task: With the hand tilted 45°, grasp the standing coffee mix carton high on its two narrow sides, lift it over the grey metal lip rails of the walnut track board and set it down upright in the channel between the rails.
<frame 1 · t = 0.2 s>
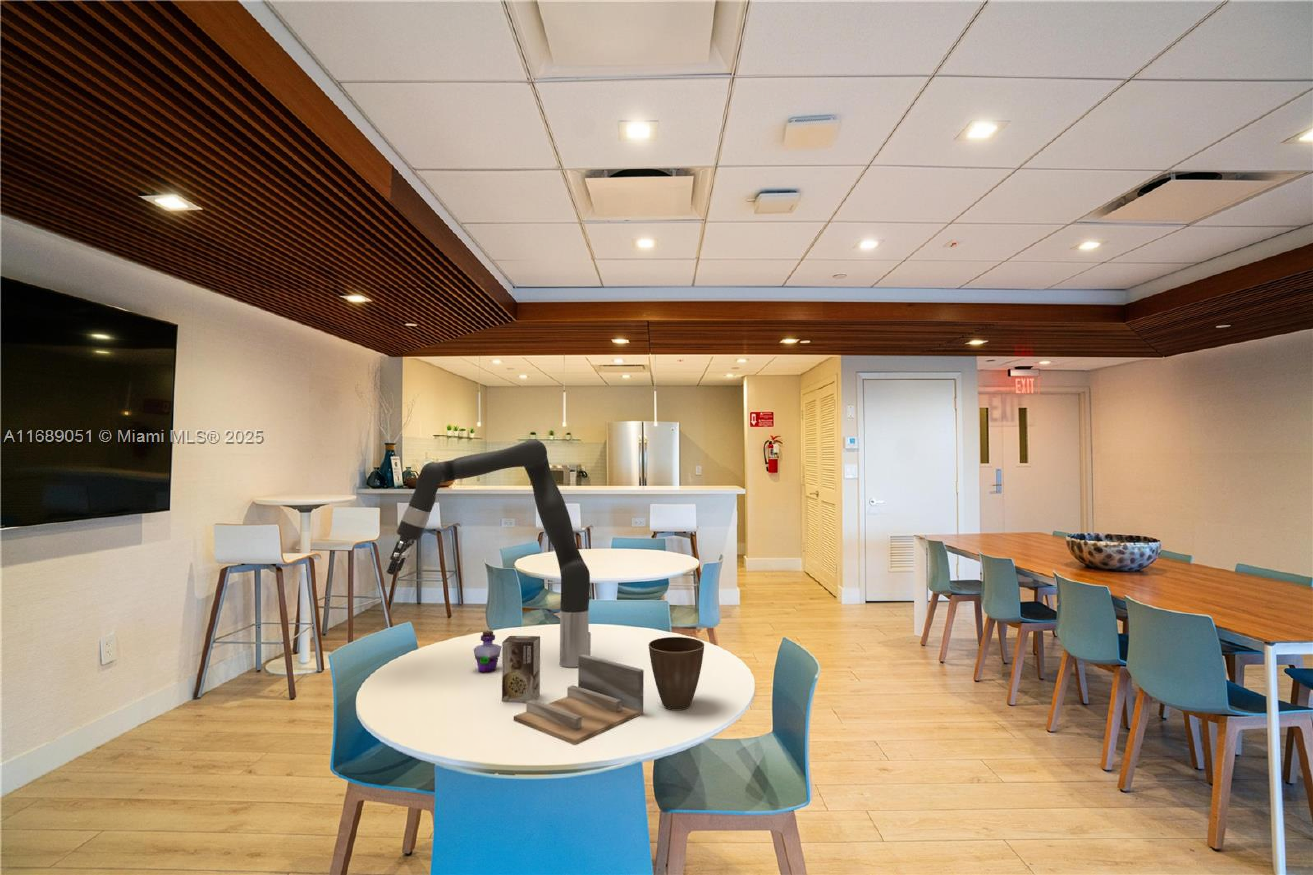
hand: (393, 572, 191), 31 cm above the table, tool tilted 20°, fingers open, 8 cm apart
plant pot: (676, 706, 163), on the table
potion bottle: (487, 670, 193), on the table
coffee box: (520, 699, 168), on the table
track board: (579, 716, 155), on the table
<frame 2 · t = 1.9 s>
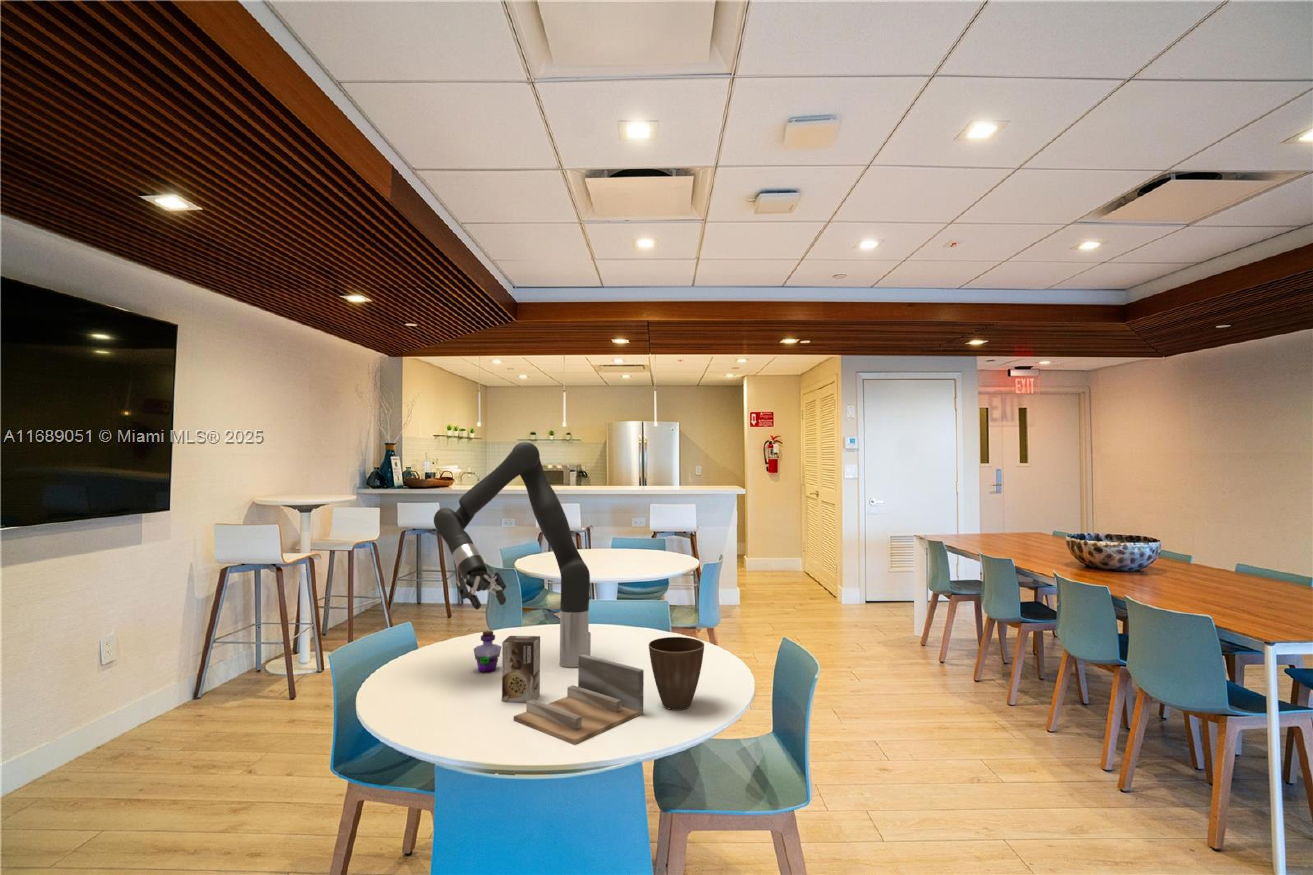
hand: (491, 605, 179), 23 cm above the table, tool tilted 45°, fingers open, 8 cm apart
nothing on the table moved.
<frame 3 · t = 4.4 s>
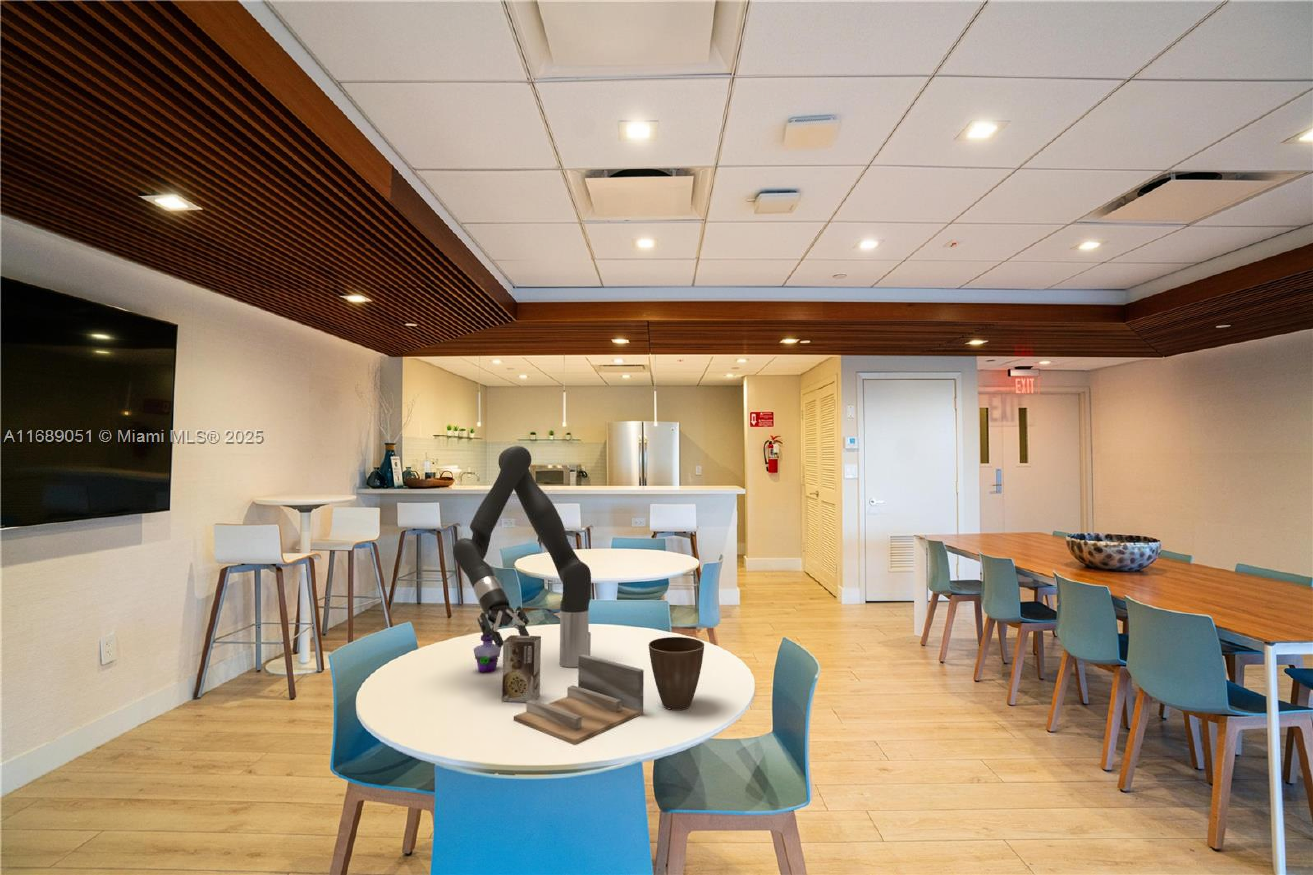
hand: (514, 642, 171), 14 cm above the table, tool tilted 45°, fingers open, 8 cm apart
nothing on the table moved.
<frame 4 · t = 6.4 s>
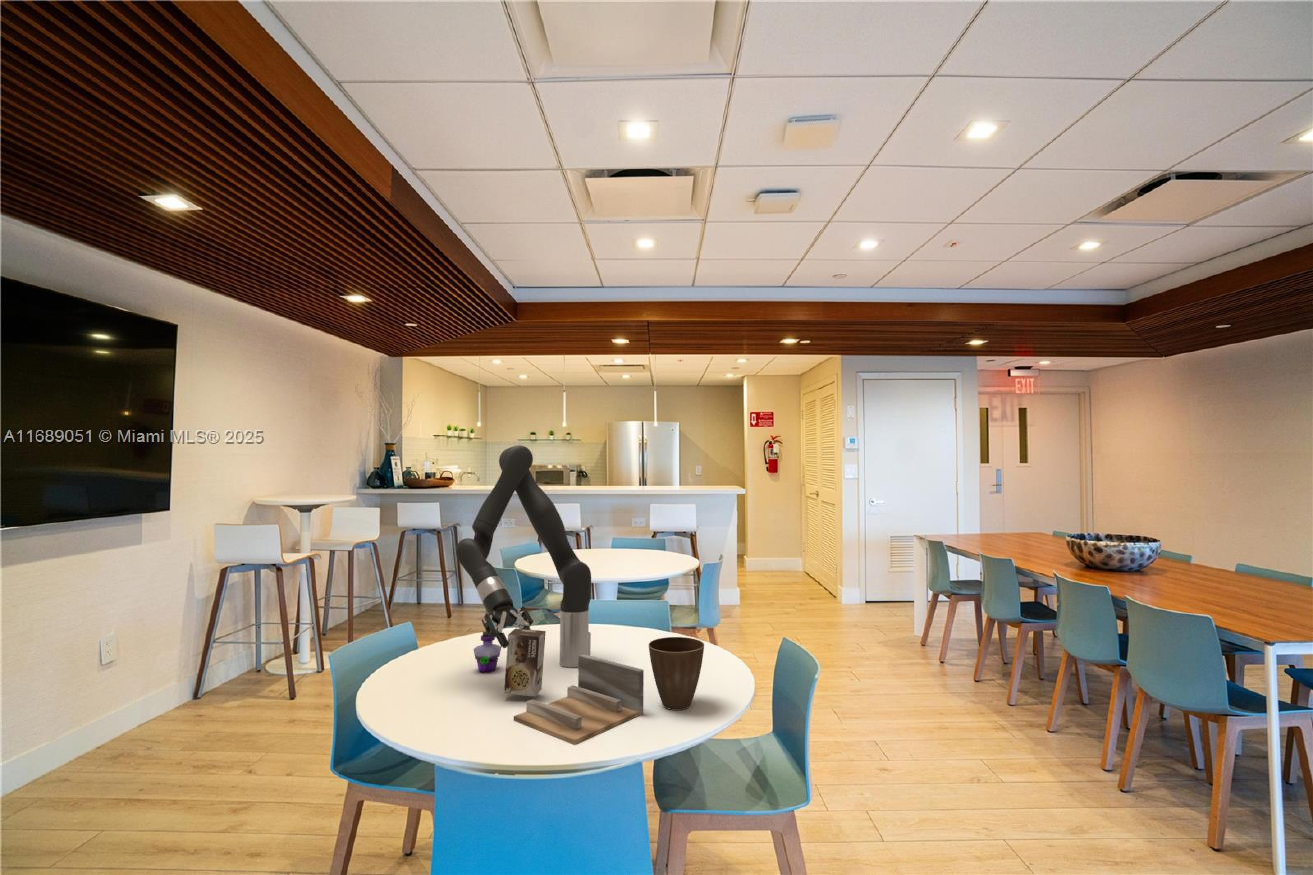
hand: (519, 643, 170), 15 cm above the table, tool tilted 45°, fingers closed on coffee box, 8 cm apart
coffee box: (522, 692, 169), point 1 cm above the table, touching gripper
everything else where it was.
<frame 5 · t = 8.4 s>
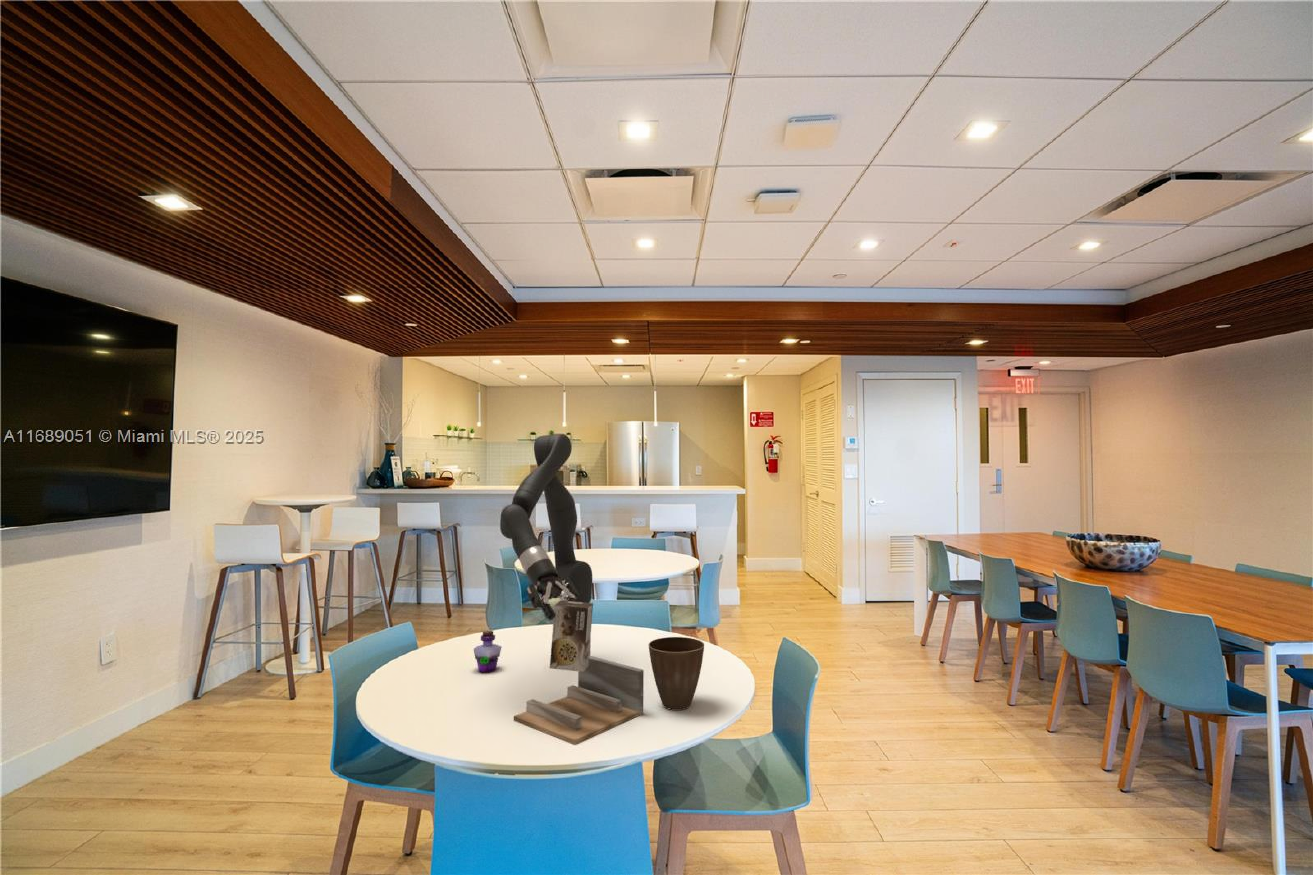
hand: (565, 615, 159), 25 cm above the table, tool tilted 45°, fingers closed on coffee box, 8 cm apart
coffee box: (568, 667, 158), point 11 cm above the table, touching gripper
everything else where it was.
when the fingers open (15 cm above the table, at t = 11.4 s): coffee box drops 1 cm, resting on track board.
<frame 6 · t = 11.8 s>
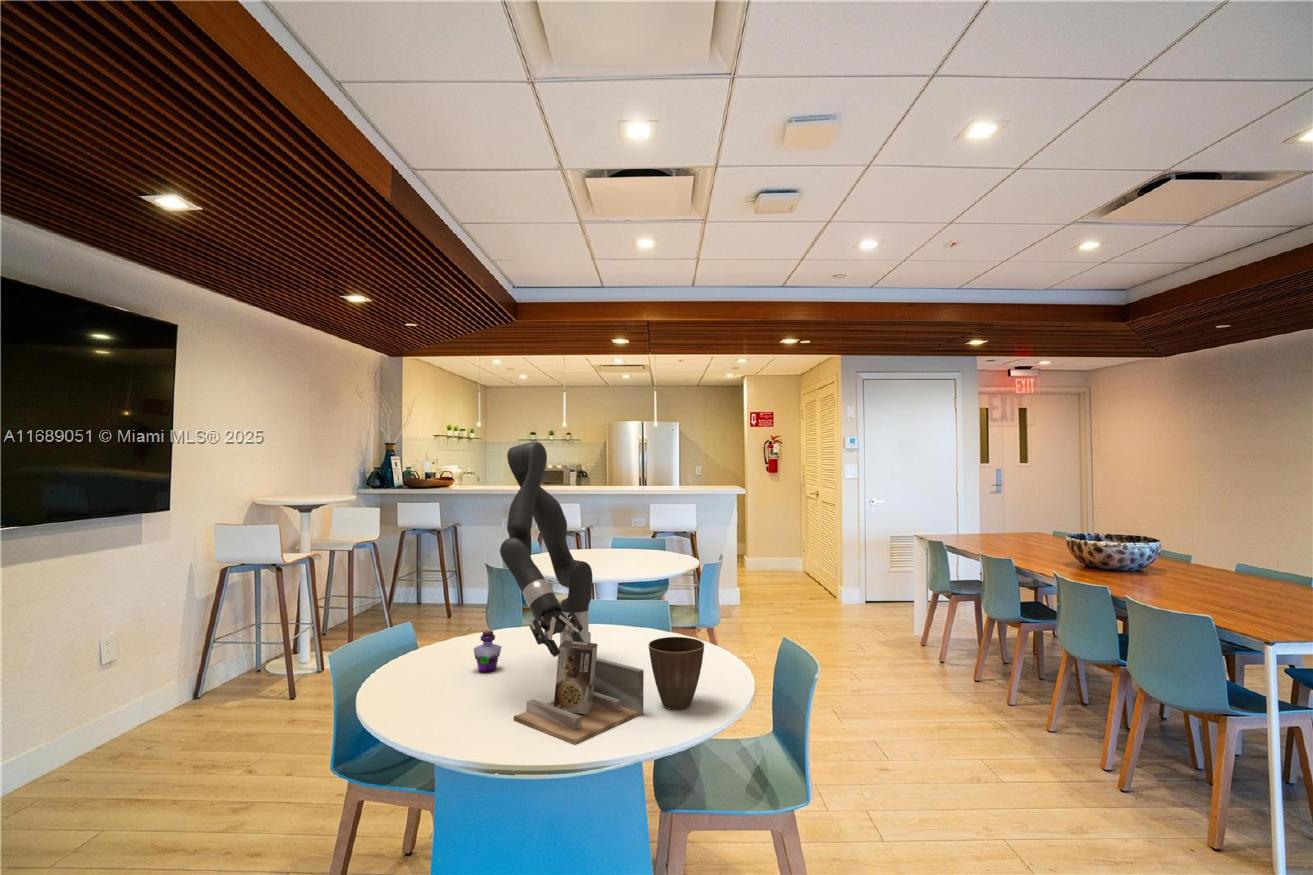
hand: (569, 651, 158), 16 cm above the table, tool tilted 45°, fingers open, 8 cm apart
coffee box: (572, 709, 157), point 1 cm above the table, touching gripper, track board
everything else where it was.
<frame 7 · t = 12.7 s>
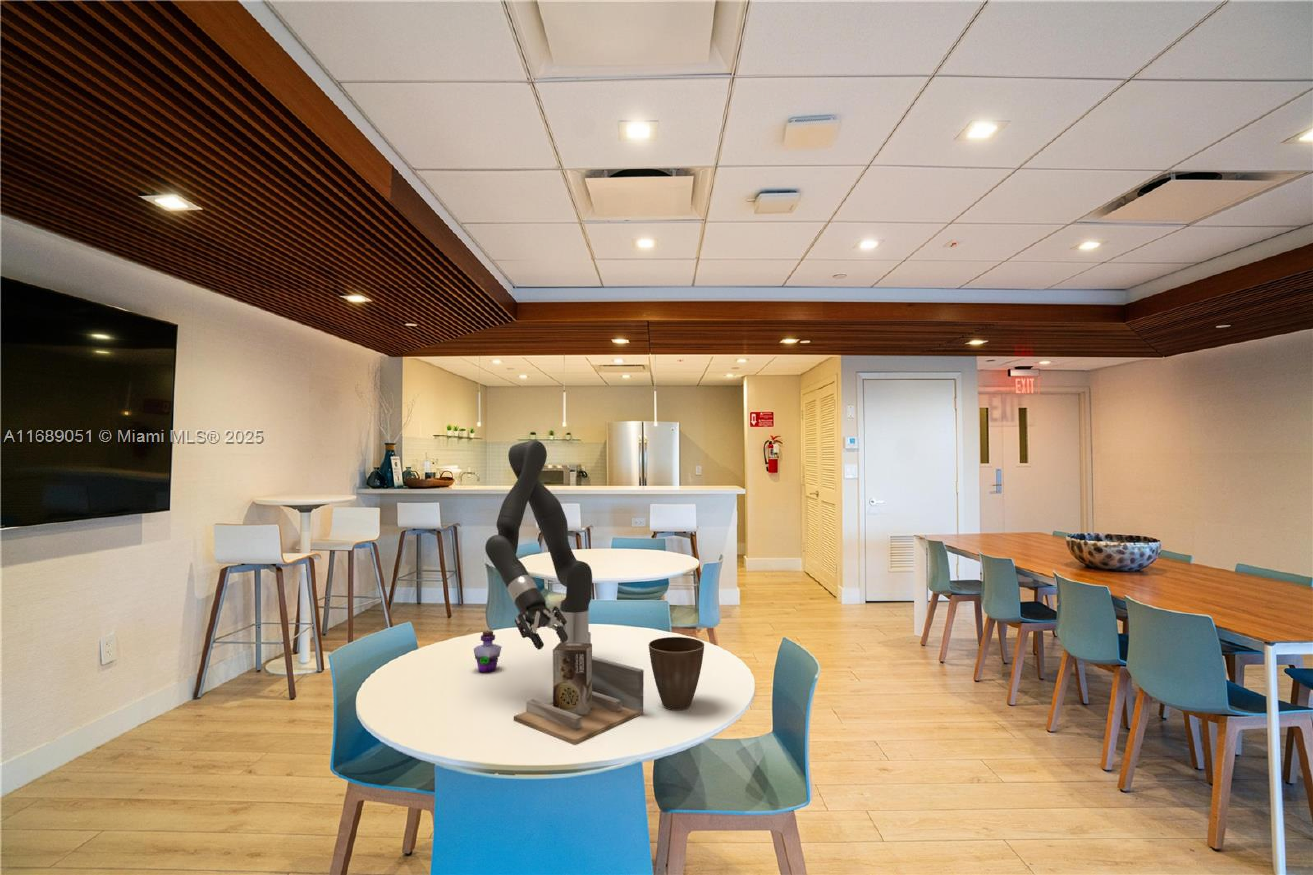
hand: (553, 644, 163), 16 cm above the table, tool tilted 45°, fingers open, 8 cm apart
coffee box: (572, 710, 157), point 1 cm above the table, touching track board
everything else where it was.
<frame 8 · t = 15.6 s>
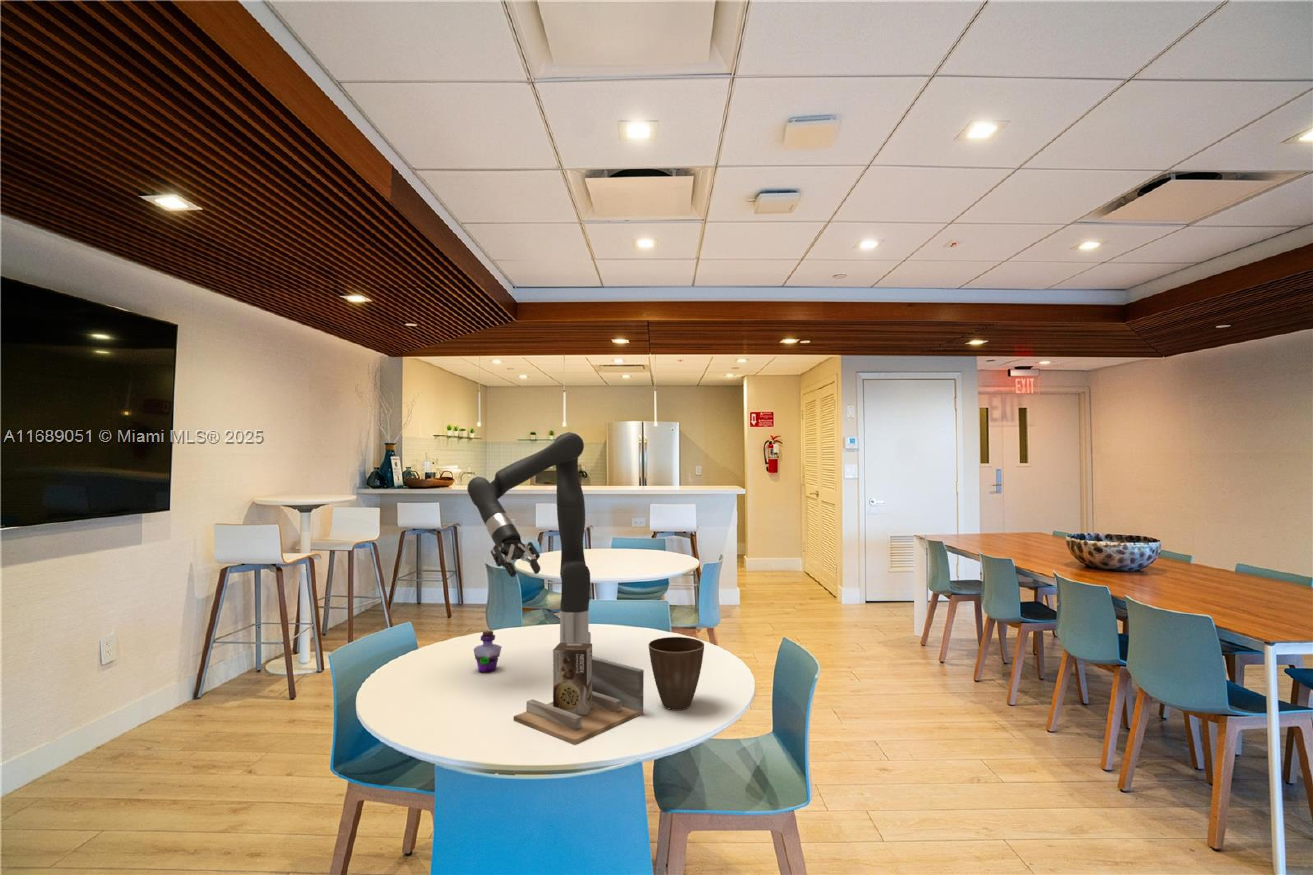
hand: (526, 573, 177), 33 cm above the table, tool tilted 45°, fingers open, 8 cm apart
nothing on the table moved.
at the end: coffee box inside the target area (0.6 cm from its centre), point 0.8 cm above the table; coffee box tilted 0°; the gripper is holding nothing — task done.
